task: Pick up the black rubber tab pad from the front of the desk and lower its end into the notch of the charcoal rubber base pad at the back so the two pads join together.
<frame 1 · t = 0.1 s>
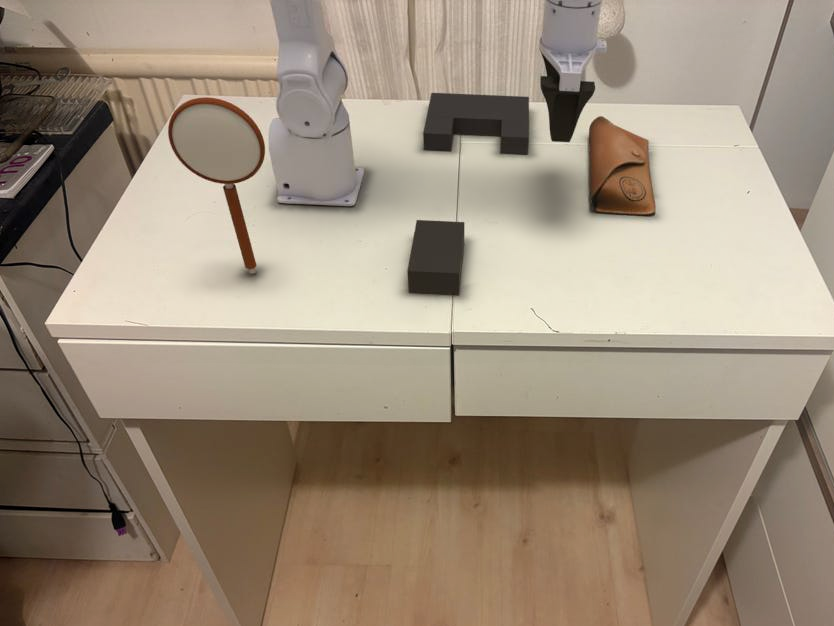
hand: (559, 123, 81), 10 cm above the table, tool pointing down, fingers open, 7 cm apart
magnifying glass: (253, 274, 78), on the table
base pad: (477, 129, 100), on the table
sunglasses case: (619, 176, 93), on the table
tab pad: (437, 267, 79), on the table
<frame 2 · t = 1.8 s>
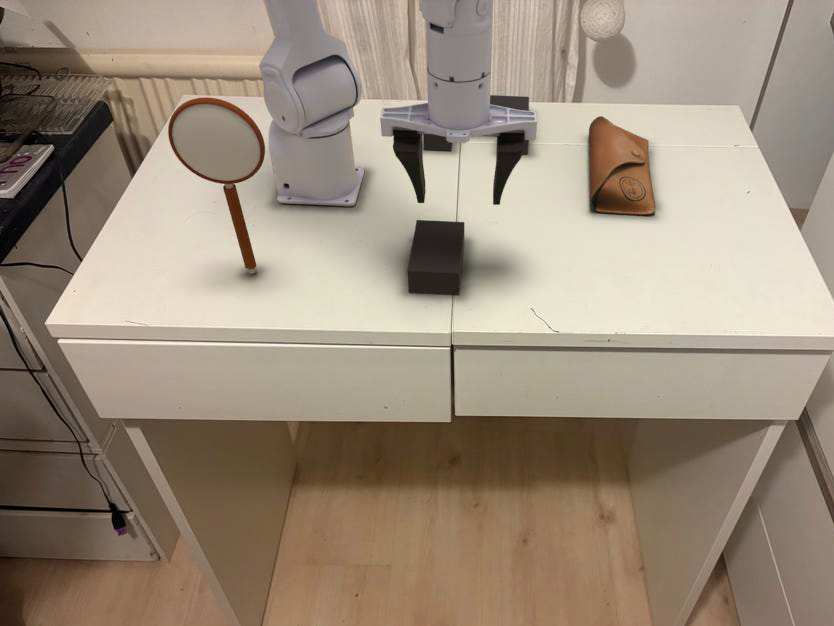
hand: (459, 198, 73), 9 cm above the table, tool pointing down, fingers open, 7 cm apart
nothing on the table moved.
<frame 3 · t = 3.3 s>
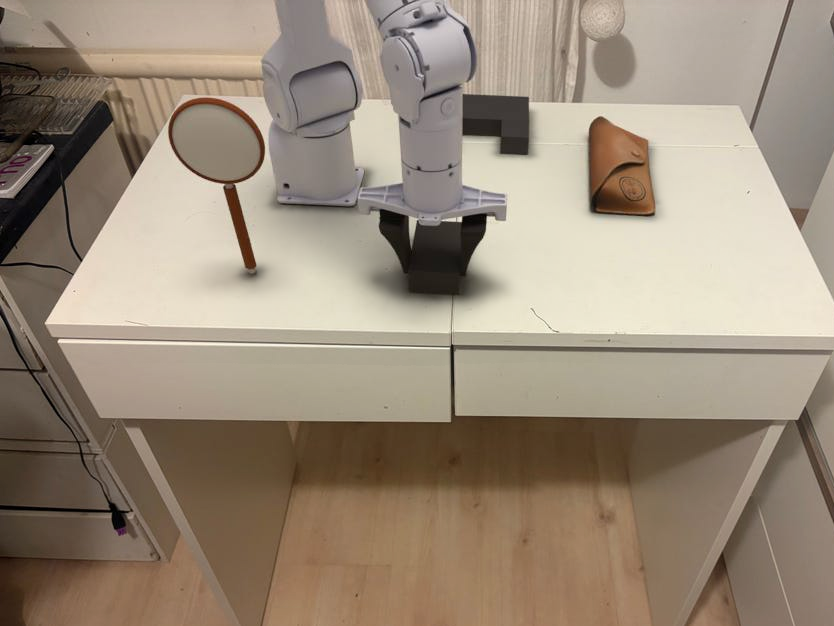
hand: (435, 269, 76), 2 cm above the table, tool pointing down, fingers closed on tab pad, 5 cm apart
tab pad: (437, 267, 79), on the table, touching gripper
everything else where it was.
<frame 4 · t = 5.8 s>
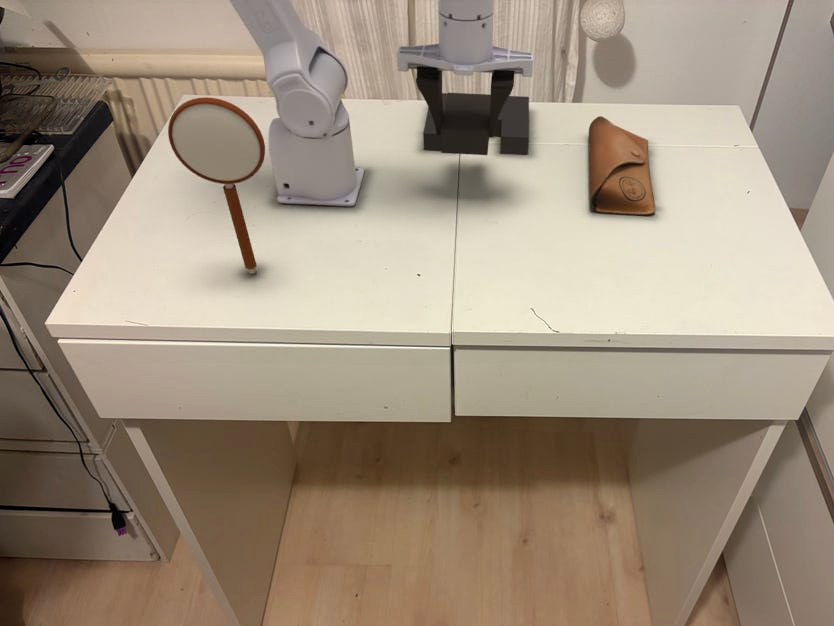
hand: (465, 132, 83), 8 cm above the table, tool pointing down, fingers closed on tab pad, 5 cm apart
tab pad: (467, 134, 86), point 7 cm above the table, touching gripper
everything else where it was.
when the fingers open (2 cm above the table, at t = 8.5 s): tab pad stays where it is, on the table.
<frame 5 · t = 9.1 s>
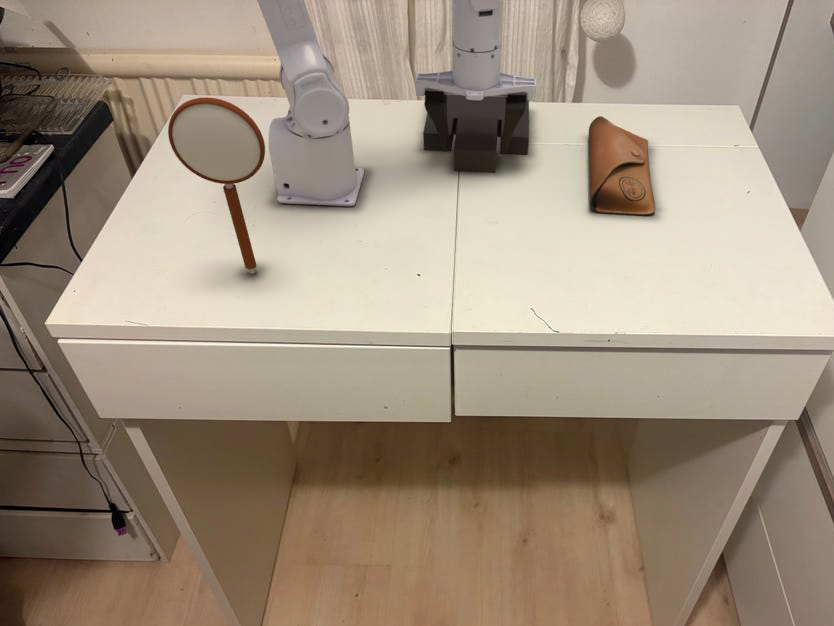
hand: (474, 148, 92), 2 cm above the table, tool pointing down, fingers open, 7 cm apart
tab pad: (476, 153, 96), on the table
everything else where it was.
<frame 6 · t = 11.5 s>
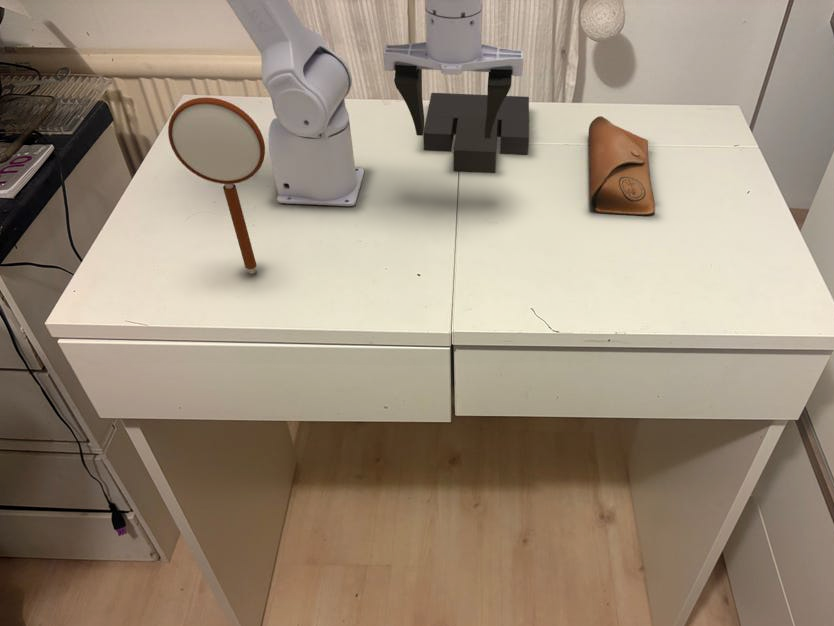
hand: (454, 132, 81), 9 cm above the table, tool pointing down, fingers open, 7 cm apart
nothing on the table moved.
at the end: tab pad 0.1 cm from the target spot on the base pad, point 0.0 cm above the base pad's base; tab pad tilted 0° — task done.
